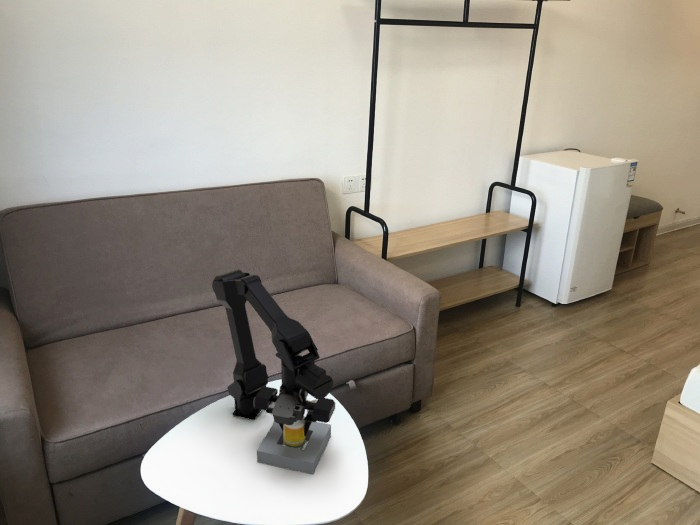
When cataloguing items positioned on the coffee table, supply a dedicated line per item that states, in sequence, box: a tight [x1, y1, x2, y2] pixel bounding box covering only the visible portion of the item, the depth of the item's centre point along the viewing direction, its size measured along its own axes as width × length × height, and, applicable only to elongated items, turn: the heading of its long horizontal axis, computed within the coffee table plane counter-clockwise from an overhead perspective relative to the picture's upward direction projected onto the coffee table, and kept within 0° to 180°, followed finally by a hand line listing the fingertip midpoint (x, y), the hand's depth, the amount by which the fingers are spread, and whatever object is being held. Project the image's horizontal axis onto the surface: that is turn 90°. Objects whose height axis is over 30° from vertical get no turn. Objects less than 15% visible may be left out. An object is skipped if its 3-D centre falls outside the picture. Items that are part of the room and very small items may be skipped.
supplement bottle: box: [283, 415, 306, 449], centre depth 139 cm, size 5×5×10 cm
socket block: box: [256, 420, 332, 476], centre depth 141 cm, size 14×14×4 cm
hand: (294, 432), depth 140 cm, fingers closed on supplement bottle, 5 cm apart
